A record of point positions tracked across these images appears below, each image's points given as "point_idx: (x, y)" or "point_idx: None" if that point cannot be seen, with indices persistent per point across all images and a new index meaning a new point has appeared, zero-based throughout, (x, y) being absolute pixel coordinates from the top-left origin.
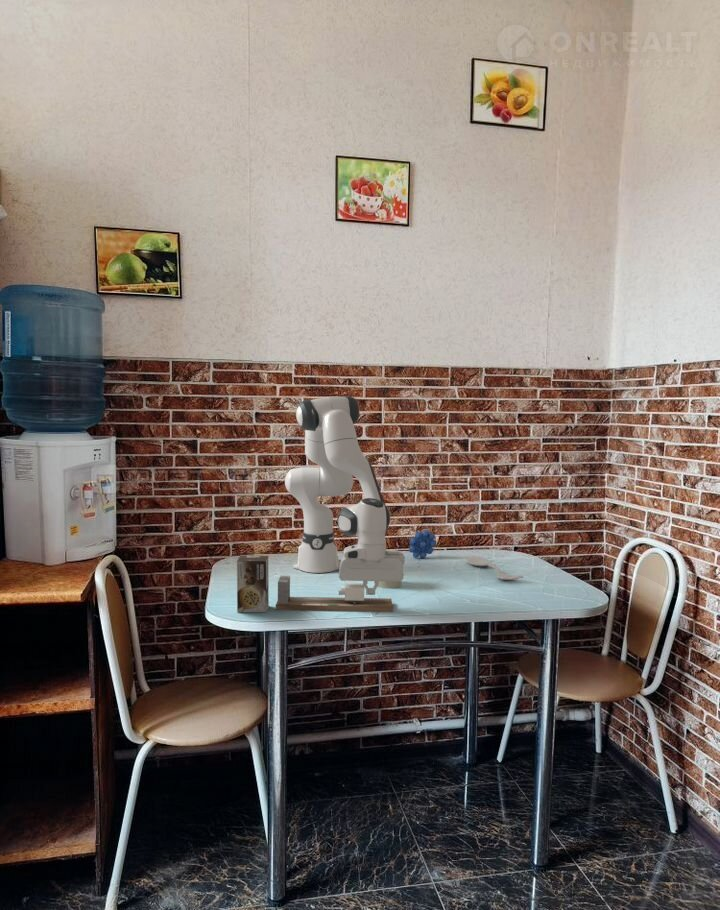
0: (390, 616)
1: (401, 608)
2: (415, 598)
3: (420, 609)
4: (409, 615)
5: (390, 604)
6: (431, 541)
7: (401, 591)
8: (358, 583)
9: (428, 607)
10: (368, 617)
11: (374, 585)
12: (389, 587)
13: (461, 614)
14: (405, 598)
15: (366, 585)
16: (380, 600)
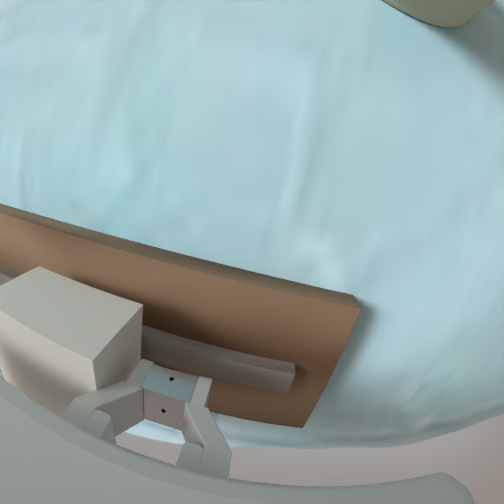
0: (268, 443)
1: (365, 377)
2: (496, 236)
3: (432, 389)
4: (351, 441)
5: (305, 401)
6: None
7: (470, 92)
8: (49, 346)
9: (471, 366)
10: (172, 431)
11: (192, 423)
12: (416, 15)
13: (492, 415)
14: (460, 223)
15: (116, 428)
16: (252, 384)
